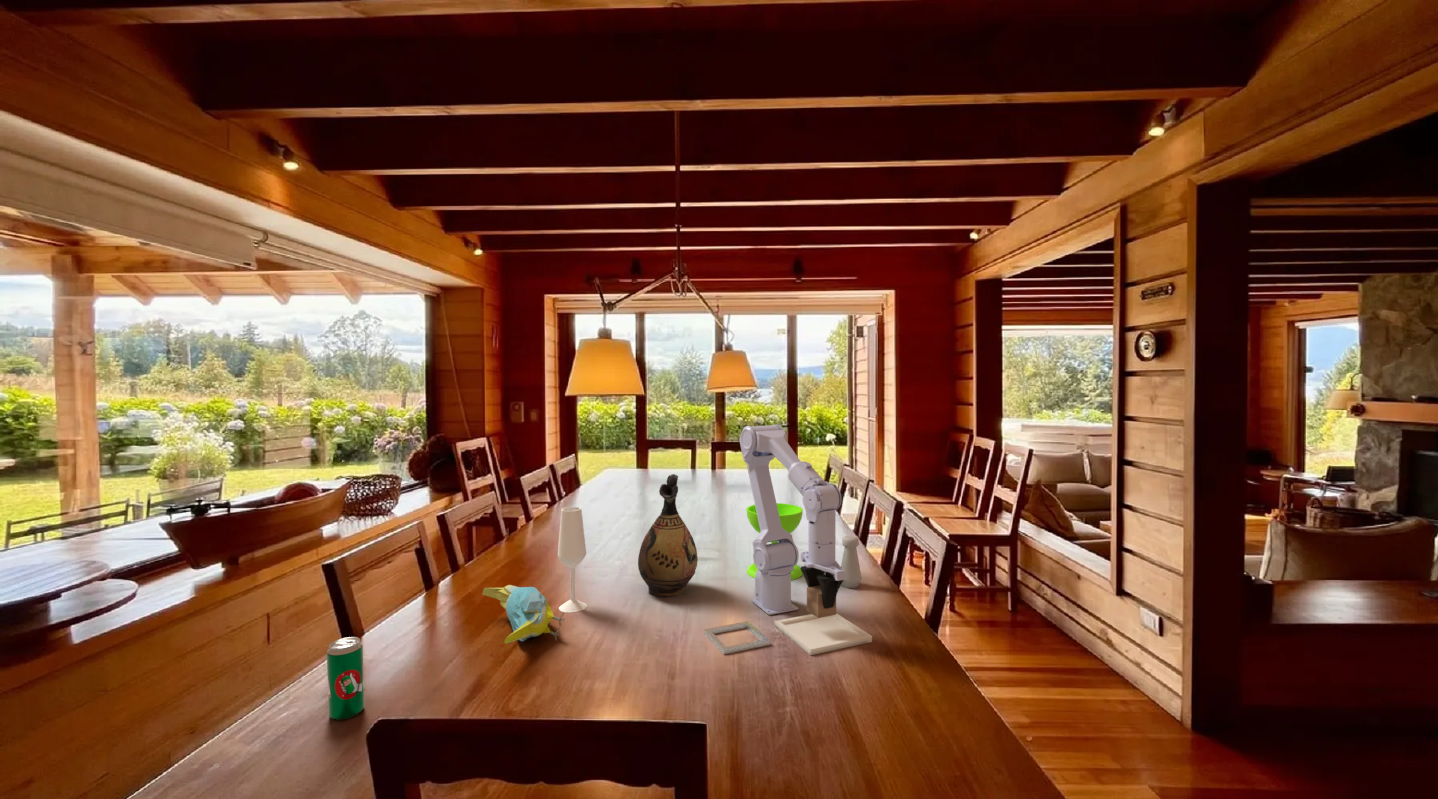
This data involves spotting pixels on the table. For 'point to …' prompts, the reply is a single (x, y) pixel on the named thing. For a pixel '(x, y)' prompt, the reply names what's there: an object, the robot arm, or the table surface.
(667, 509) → the ceramic jug
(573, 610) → the champagne flute
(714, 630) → the frame
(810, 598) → the walnut block
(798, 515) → the wineglass
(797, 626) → the tray
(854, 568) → the salt shaker
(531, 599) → the decorative bird
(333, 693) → the soda can
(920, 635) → the table surface
